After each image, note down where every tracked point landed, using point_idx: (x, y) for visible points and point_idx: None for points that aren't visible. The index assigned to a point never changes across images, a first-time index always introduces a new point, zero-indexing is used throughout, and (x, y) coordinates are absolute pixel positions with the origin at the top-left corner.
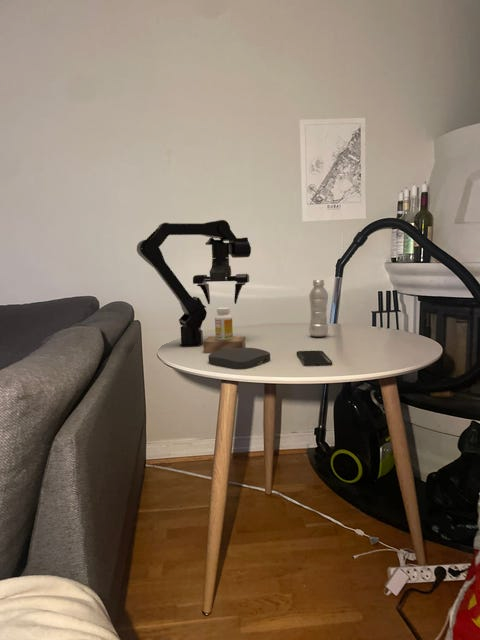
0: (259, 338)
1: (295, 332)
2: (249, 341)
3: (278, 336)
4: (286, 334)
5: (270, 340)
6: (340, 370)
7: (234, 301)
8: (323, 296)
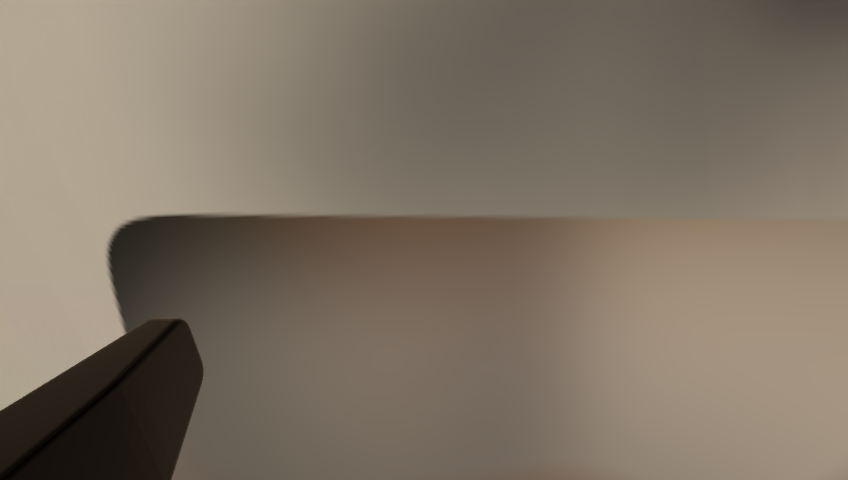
0: (178, 191)
1: (5, 399)
2: (219, 42)
3: (54, 270)
4: (31, 339)
5: (35, 99)
6: None
7: (150, 352)
8: None
